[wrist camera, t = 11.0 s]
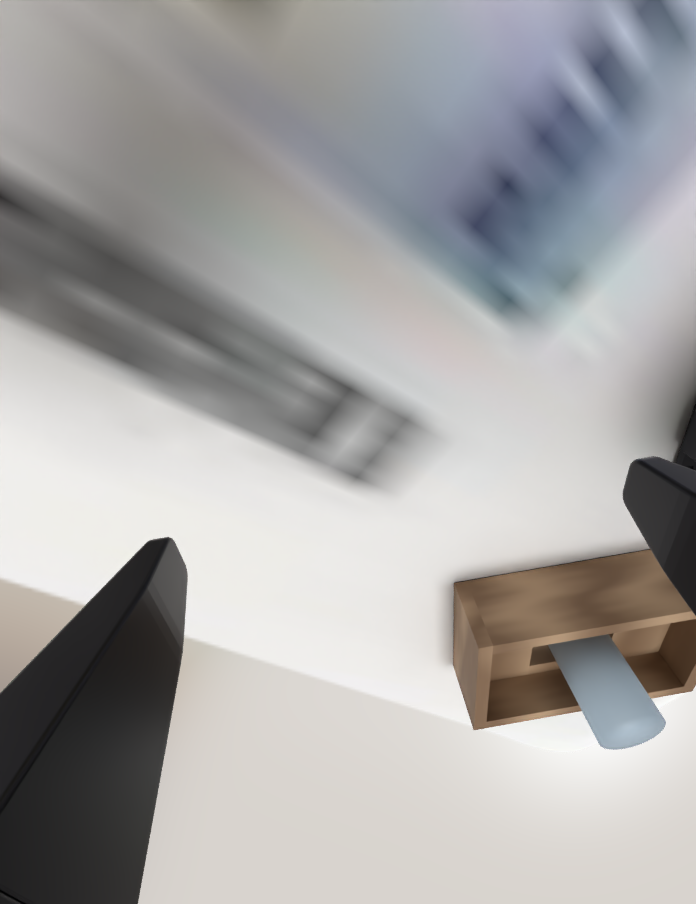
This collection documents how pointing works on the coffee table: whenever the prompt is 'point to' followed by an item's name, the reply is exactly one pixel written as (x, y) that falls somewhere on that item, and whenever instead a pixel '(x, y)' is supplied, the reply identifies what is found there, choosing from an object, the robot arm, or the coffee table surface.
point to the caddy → (567, 634)
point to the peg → (608, 692)
